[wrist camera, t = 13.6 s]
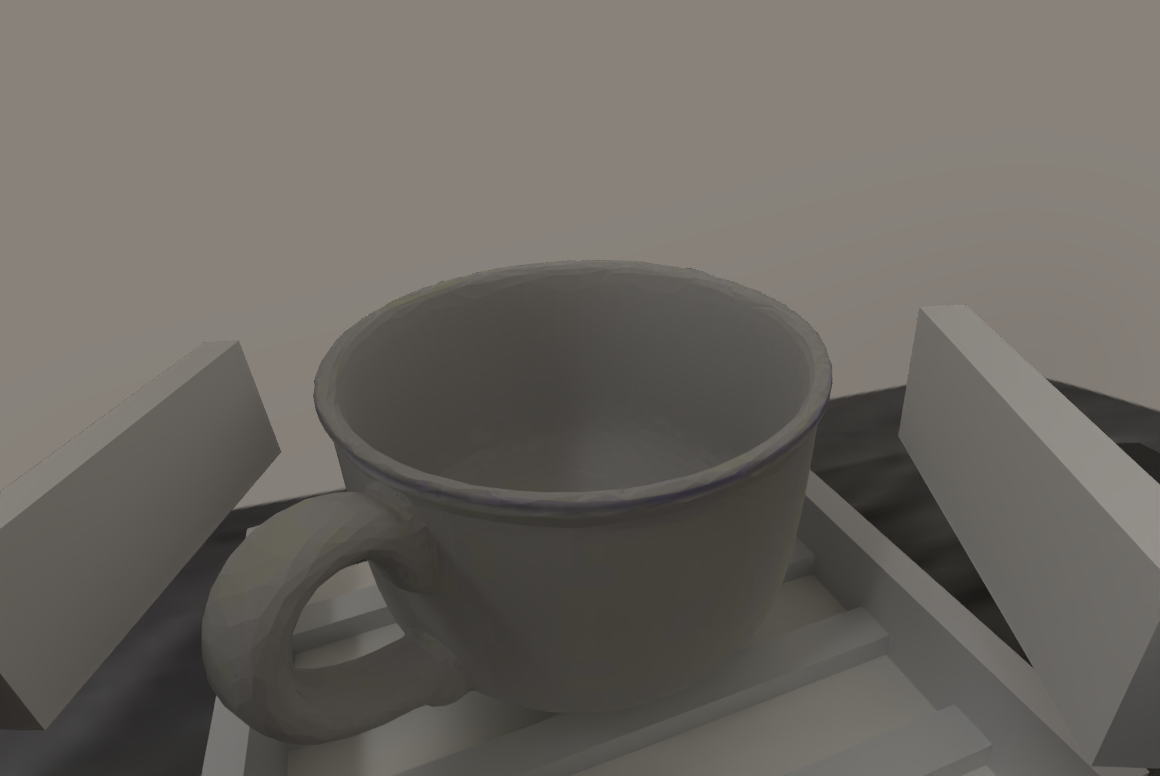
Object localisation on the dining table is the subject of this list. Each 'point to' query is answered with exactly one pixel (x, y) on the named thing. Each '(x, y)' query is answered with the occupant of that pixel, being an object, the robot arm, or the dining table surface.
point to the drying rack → (724, 690)
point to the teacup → (535, 497)
